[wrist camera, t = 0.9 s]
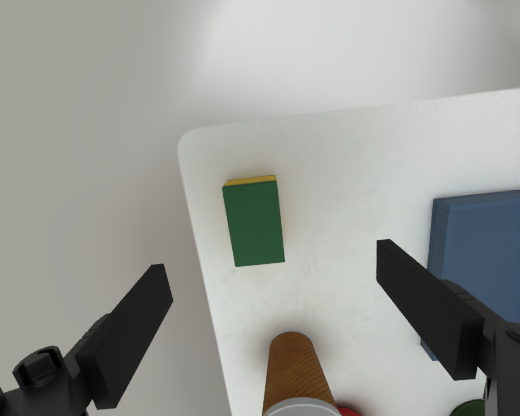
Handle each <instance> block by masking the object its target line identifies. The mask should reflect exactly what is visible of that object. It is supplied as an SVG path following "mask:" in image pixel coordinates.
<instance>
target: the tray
mask: <svg viewBox="0 0 520 416" xmlns="http://www.w3.org/2000/svg"><path fill="white" fill-rule="evenodd" d="M428 271H429V272H430V273H432V274H433V275H434V276H435V277H436V278H438V279H439V280H441V279H448V280H450V281H452V282H454V283H456V284H459V285H460V286H461V287H463V288H464V289H465V290H467V291H468V292H469V294H472V295H473V296H474V297H476V298H477V300H480V301H481V302H482V303H484V304H485V305H486V306H487V307H489V308H490V309H491V310H493V311H494V312H495V313H497V314H498V315H499V316H501V317H502V318H503V319H504V320H506V321H507V322H515V323H520V190H514V191H505V192H496V193H487V194H478V195H469V196H459V197H450V198H441V199H434V203H433V214H432V225H431V236H430V248H429V259H428ZM421 346H422V347H423V348H424V350H425V351H426V353H427V354H428V355H429V357H430V358H431V359H432V361H439V360H438V359H437V358H436V357H435V355H434V354H433V353H432V351H431V350H430V349H429V347H428V346H427V345H426V344H425V342H424V341H423V340H422V338H421Z"/></svg>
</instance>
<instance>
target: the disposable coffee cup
mask: <svg viewBox="0 0 520 416" xmlns="http://www.w3.org/2000/svg"><path fill="white" fill-rule="evenodd" d="M333 399H334V398H333V396H332V394H331V391H330V389H329V386H328V384H327V381H326V378H325V376H324V373H323V371H322V368H321V366H320V363H319V360H318V358H317V355H316V352H315V350H314V347H313V344H312V342H311V341H310V339H309V338H308V337H306V336H305V335H303V334H300V333H296V332H288V333H284V334H281V335H279V336H277V337H276V338H275V339H274V340H273V341H272V343H271V345H270V351H269V359H268V368H267V376H266V385H265V394H264V402H263V411H262V416H342V415H341V414H340V413H339V411H338V409H337V407H336V404H335V401H334V400H333Z"/></svg>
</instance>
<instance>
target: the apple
mask: <svg viewBox="0 0 520 416" xmlns="http://www.w3.org/2000/svg"><path fill="white" fill-rule="evenodd" d="M337 409H338V411H339V413H340V414H341V415H342V416H360V415H359V414H357V413H356V412H354V411H353V410H351V409H348V408H343V407H337Z"/></svg>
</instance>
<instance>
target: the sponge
mask: <svg viewBox="0 0 520 416" xmlns="http://www.w3.org/2000/svg"><path fill="white" fill-rule="evenodd" d="M222 191H223V197H224V203H225V208H226V214H227V220H228V226H229V232H230V238H231V244H232V250H233V256H234V262H235V267H240V266H250V265H260V264H270V263H280V262H285V257H284V247H283V238H282V228H281V218H280V208H279V198H278V189H277V181H276V177H275V175H270V176H262V177H253V178H245V179H236V180H228V181H227V182H226V184H225V185H224V186H223V188H222Z"/></svg>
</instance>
